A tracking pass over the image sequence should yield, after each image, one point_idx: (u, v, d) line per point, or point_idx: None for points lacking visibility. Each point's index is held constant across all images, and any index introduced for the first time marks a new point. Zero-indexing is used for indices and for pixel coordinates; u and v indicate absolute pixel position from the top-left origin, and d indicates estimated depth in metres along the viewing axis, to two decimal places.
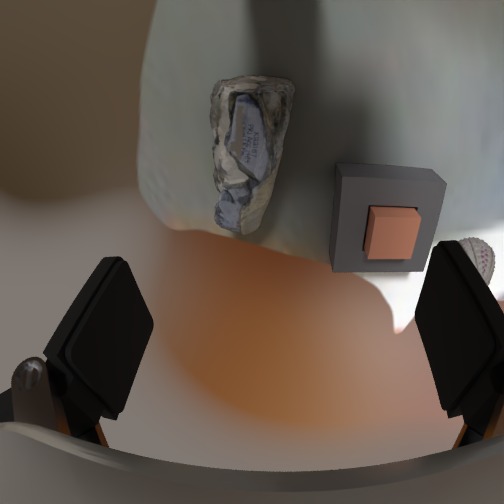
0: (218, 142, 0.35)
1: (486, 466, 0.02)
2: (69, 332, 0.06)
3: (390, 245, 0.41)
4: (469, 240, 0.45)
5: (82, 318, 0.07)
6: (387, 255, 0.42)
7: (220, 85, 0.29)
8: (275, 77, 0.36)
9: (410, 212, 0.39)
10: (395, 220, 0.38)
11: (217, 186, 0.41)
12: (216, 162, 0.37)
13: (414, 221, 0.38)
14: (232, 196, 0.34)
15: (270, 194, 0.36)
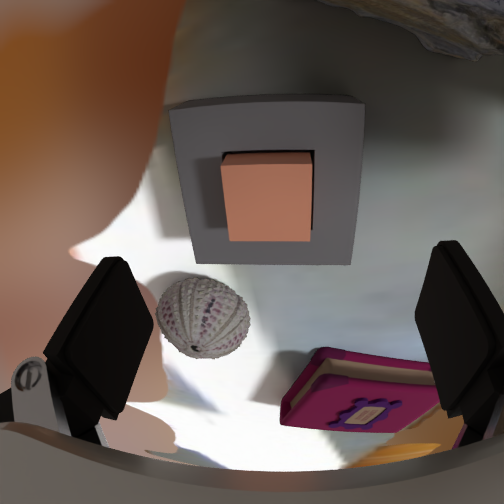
0: None
1: (486, 466, 0.02)
2: (69, 332, 0.06)
3: (254, 199, 0.25)
4: (246, 310, 0.41)
5: (82, 318, 0.07)
6: (232, 199, 0.25)
7: None
8: None
9: None
10: (305, 200, 0.24)
11: None
12: None
13: (303, 232, 0.26)
14: None
15: None
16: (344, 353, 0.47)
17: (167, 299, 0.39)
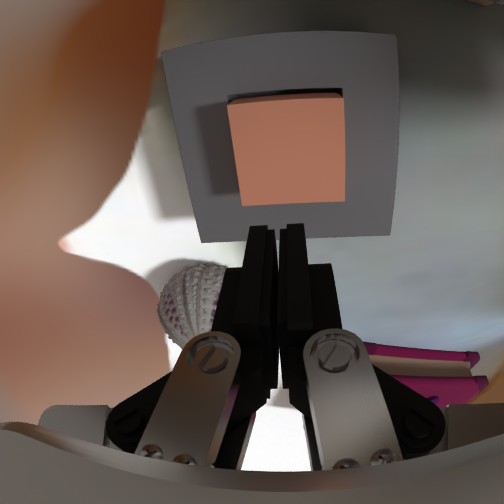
0: None
1: (486, 466, 0.02)
2: (260, 297, 0.07)
3: (272, 147, 0.18)
4: None
5: (264, 283, 0.07)
6: (244, 148, 0.19)
7: None
8: None
9: None
10: (337, 146, 0.18)
11: None
12: None
13: (337, 189, 0.20)
14: None
15: None
16: (375, 347, 0.40)
17: (170, 291, 0.33)
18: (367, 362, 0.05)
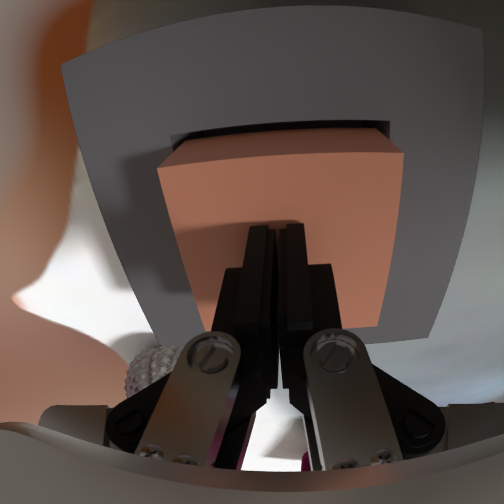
0: None
1: (486, 466, 0.02)
2: (260, 297, 0.07)
3: None
4: None
5: (263, 283, 0.07)
6: (199, 249, 0.10)
7: None
8: None
9: None
10: (378, 246, 0.09)
11: None
12: None
13: (367, 311, 0.11)
14: None
15: None
16: None
17: (135, 375, 0.24)
18: (367, 362, 0.05)
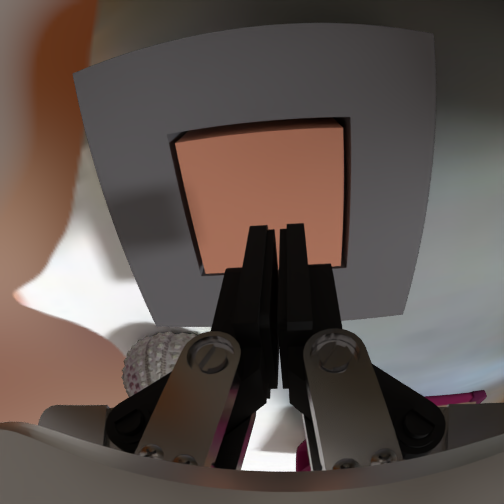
0: None
1: (486, 466, 0.02)
2: (260, 297, 0.07)
3: (240, 200, 0.14)
4: None
5: (263, 283, 0.07)
6: (202, 202, 0.14)
7: None
8: None
9: None
10: (332, 196, 0.13)
11: None
12: None
13: (330, 252, 0.15)
14: None
15: None
16: None
17: (132, 363, 0.26)
18: (367, 362, 0.05)
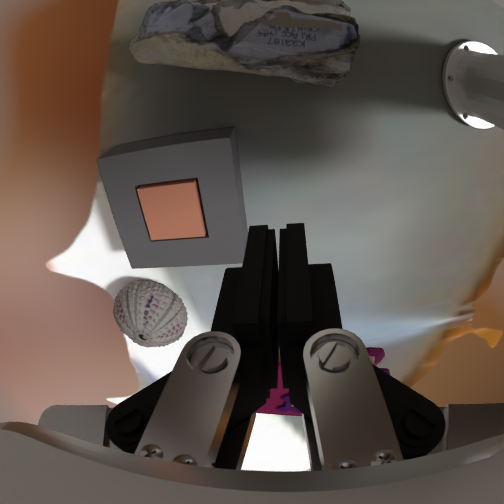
0: (265, 0, 0.20)
1: (486, 466, 0.02)
2: (260, 297, 0.07)
3: (161, 210, 0.35)
4: (182, 305, 0.49)
5: (263, 283, 0.07)
6: (148, 210, 0.35)
7: None
8: None
9: (205, 221, 0.38)
10: (194, 207, 0.35)
11: None
12: None
13: (199, 230, 0.36)
14: (199, 18, 0.18)
15: (202, 67, 0.22)
16: None
17: (119, 298, 0.47)
18: (367, 362, 0.05)
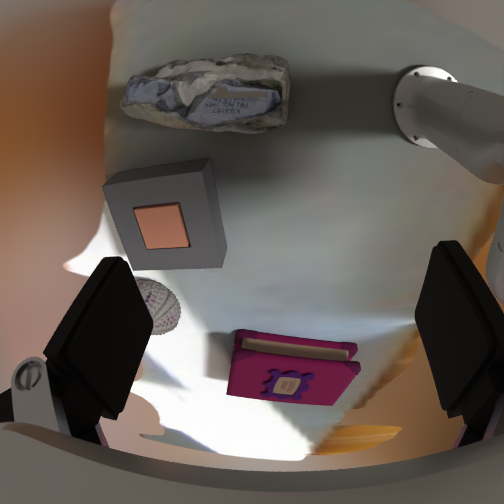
0: (218, 65, 0.29)
1: (486, 466, 0.02)
2: (69, 332, 0.06)
3: (153, 226, 0.45)
4: (175, 301, 0.59)
5: (82, 318, 0.07)
6: (143, 226, 0.45)
7: (284, 66, 0.28)
8: (288, 105, 0.38)
9: None
10: (178, 224, 0.44)
11: (166, 66, 0.32)
12: (195, 63, 0.30)
13: (183, 241, 0.46)
14: (164, 92, 0.27)
15: (171, 127, 0.32)
16: (256, 333, 0.65)
17: None
18: None
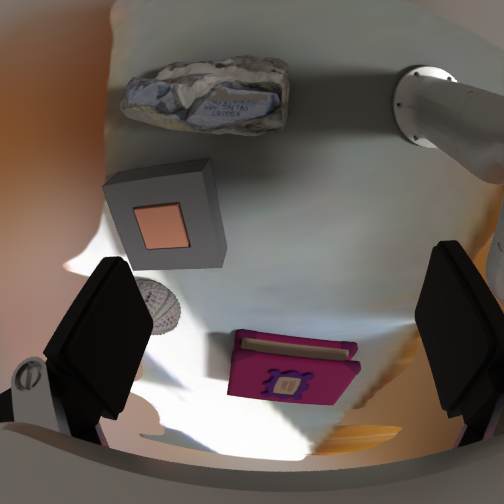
0: (218, 67, 0.29)
1: (486, 466, 0.02)
2: (69, 332, 0.06)
3: (153, 226, 0.45)
4: (175, 301, 0.59)
5: (82, 318, 0.07)
6: (143, 226, 0.45)
7: (283, 69, 0.28)
8: None
9: None
10: (178, 224, 0.44)
11: (166, 68, 0.32)
12: (194, 66, 0.30)
13: (183, 241, 0.46)
14: (163, 95, 0.28)
15: (171, 129, 0.32)
16: (255, 333, 0.65)
17: None
18: None
